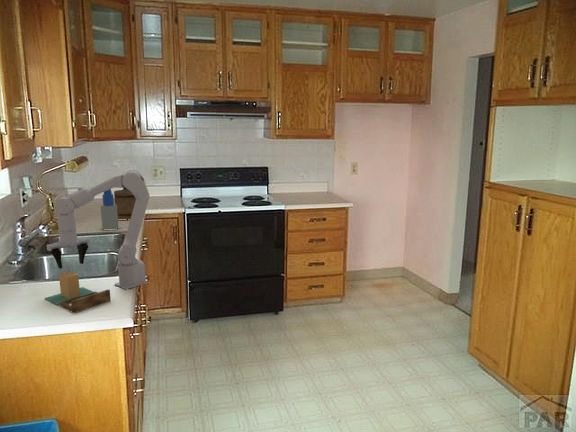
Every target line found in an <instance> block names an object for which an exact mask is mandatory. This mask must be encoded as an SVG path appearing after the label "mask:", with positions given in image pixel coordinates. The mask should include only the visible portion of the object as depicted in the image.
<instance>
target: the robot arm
mask: <svg viewBox="0 0 576 432" xmlns="http://www.w3.org/2000/svg"><path fill="white" fill-rule="evenodd" d="M123 186H124V187H125V188H127V189H128V190H129V191H131V192H132V194H133V195H134V196H135V198H136V201H135V205H134V208H133V212H132V216H131V219H130V220H129V223H128V227H127V231H126V233H125V234H126V235H125V238H124V242H123V243H122V245H120V247H119V249H118V250H119V251H118V253H117V255H116V256H117V257H116V258H117V269H118V271H117V272H118V282H115V283H114V286H116V287H119V288H121V289H123V290H124V289H125V290H129V289H132V288H135V287H139V286H142V285H144V284H147V283H148V281H147V276H146V275H147V273H146V272H147V271H146V265H145V263H144V261H143V260H141V259H137V257H136V254H137V242H138V238H139V235H140V231H141V227H142V225H143V221H144V217H145V213H146V211H147V206H148V205H149V204H148V203H149V200H150V192H149V189H148V188H147V184H146V181H145V178H144V177H143V175H142V174H141V173H140V172H139V171H137V170H135V169H131V170H128V171H127V172H126V173H125V172H121V173H119V174H116V175H114V176H112V177H110V178H108V179H106V180H104V181H102V182H100V183H98V184H95V185H94V186H93V187H87V186H80V187H78V188H77V190H75V191H74V192H71V193H67V194H65V196H63V197H61V198H59V199H58V200H57V201H55V203H54V210H55V212H56V213H57V225H58V226H57V228H58V236H59V237H58V238H59V241H57V242H53V243H50V244H46V250H47V251H48V252H49V253H51V255H52V256H53V258H54V260H55V262H56V265H57V268H58V269H63V263H62V251H61V250H60V249H65V248H69V247H77V251H78V262H79V264H81V265H83V264H84V261H85V257H86V253H87V250H88V249H89V245H90V243H91V240H90V238H89V237H85V238H83V237H82V238H78V236H77V226H76V225H77V224H76V217H75V211H74V209H79V208H81V207H83V206H85V205H88V204H89V203H91V202H93V201H94V200H95V197H96V196H97V195H100V194H102V193H104V192H105V191H107V190H109V189H111V190H112V189H114V188H120V189H123Z"/></svg>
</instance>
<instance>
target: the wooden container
mask: <svg viewBox="0 0 576 432" xmlns="http://www.w3.org/2000/svg"><path fill="white" fill-rule="evenodd" d="M113 197H114V204H116V205H117V212H118V219H131V216H132V212H133V208H134V205H135V201H136V198H135V196H134V195H133V194H132V192H131V191H129V190H128V189H127V188H125V187H124V186H123V187H122V189H117V190H114V191H113Z"/></svg>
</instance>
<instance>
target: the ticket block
mask: <svg viewBox="0 0 576 432" xmlns="http://www.w3.org/2000/svg"><path fill="white" fill-rule="evenodd" d="M58 279H59V288H60V293H61V295H62V296H64V297H66V298H68V299H71V298H74V297H78V296H80V288H81V287H80V279H79V274H78V273H75V272H73V271H66V272H65V271H64V272H61V273H59V274H58Z"/></svg>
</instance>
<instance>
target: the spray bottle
mask: <svg viewBox="0 0 576 432" xmlns="http://www.w3.org/2000/svg"><path fill="white" fill-rule="evenodd" d="M101 197H102V204H100V215H101V216H100V218H101V228H103V229H116V228H118V227H119V220H118V212H117V205H116V204H115V200H114V193H113V191H112V188H111V189H109V190H107V191H105V192H103V194H102V196H101ZM103 229H102V230H103Z"/></svg>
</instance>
